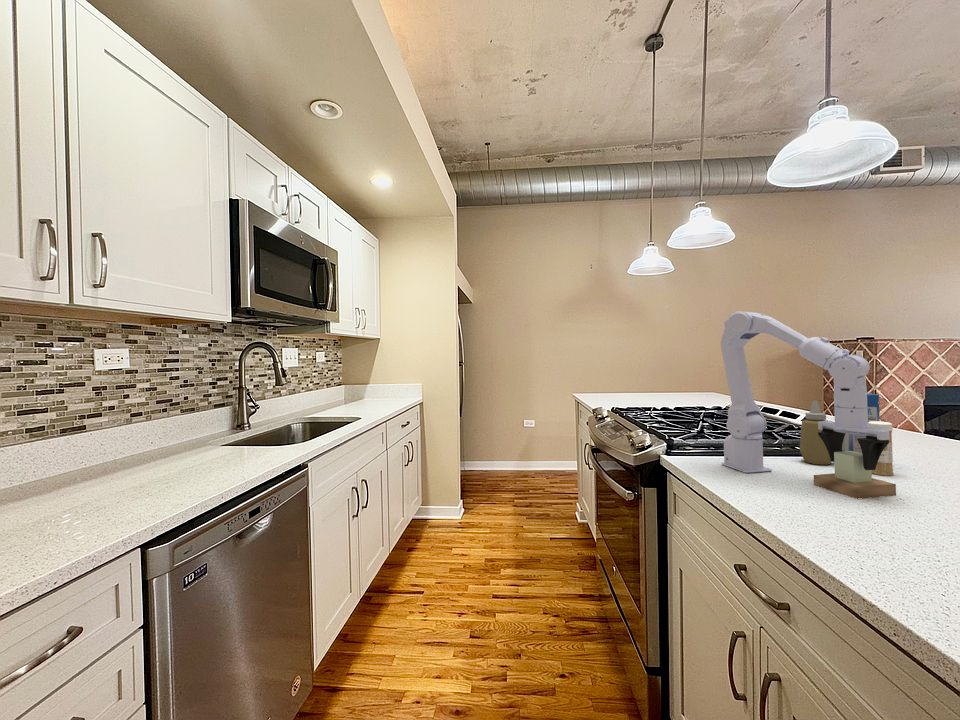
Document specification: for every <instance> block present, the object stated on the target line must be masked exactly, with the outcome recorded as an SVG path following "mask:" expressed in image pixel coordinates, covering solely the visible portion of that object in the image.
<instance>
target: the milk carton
mask: <svg viewBox="0 0 960 720" xmlns="http://www.w3.org/2000/svg"><path fill="white" fill-rule="evenodd" d="M867 414H868V422H870V421H880V422H881V420H880V417H881V416H880V395H879V394H875V393H870V392H867ZM851 432H853V431H851ZM863 434H864V433H863ZM858 438H866V437H865V436H859V435H853V434H847V433H846V434H845V437H844V440H843V444H842V452H843V451H853V452H858V453H862V450H861V447H860V444H859V442H858V440H857V439H858Z"/></svg>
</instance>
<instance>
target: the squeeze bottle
mask: <svg viewBox="0 0 960 720" xmlns="http://www.w3.org/2000/svg"><path fill="white" fill-rule="evenodd" d="M821 410H822V409H821V407H820V404H819V401H818V400H812V402H811V406H810V410H809V412H805V413H804V414H805V419H804V420H801V426H800V437H799V438H800V439H799V449H798V450H799V453H800V454H801V456H802V459H803V461H804V462H806V463H809V464H812V465H818V464H820V465H821V466H827V465H830V464H831V463H832V461H831V459H830V456H829V453H828V450H827V448H826V446H825V444H824V442H823V441H822V439H821V438H820V436H819V435H818V432H822V431H823V430H820V429H818V422H819V421H827V422H829V421H828V420H827V414H826V413H824V412H822V411H821ZM820 465H819V466H820Z"/></svg>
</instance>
